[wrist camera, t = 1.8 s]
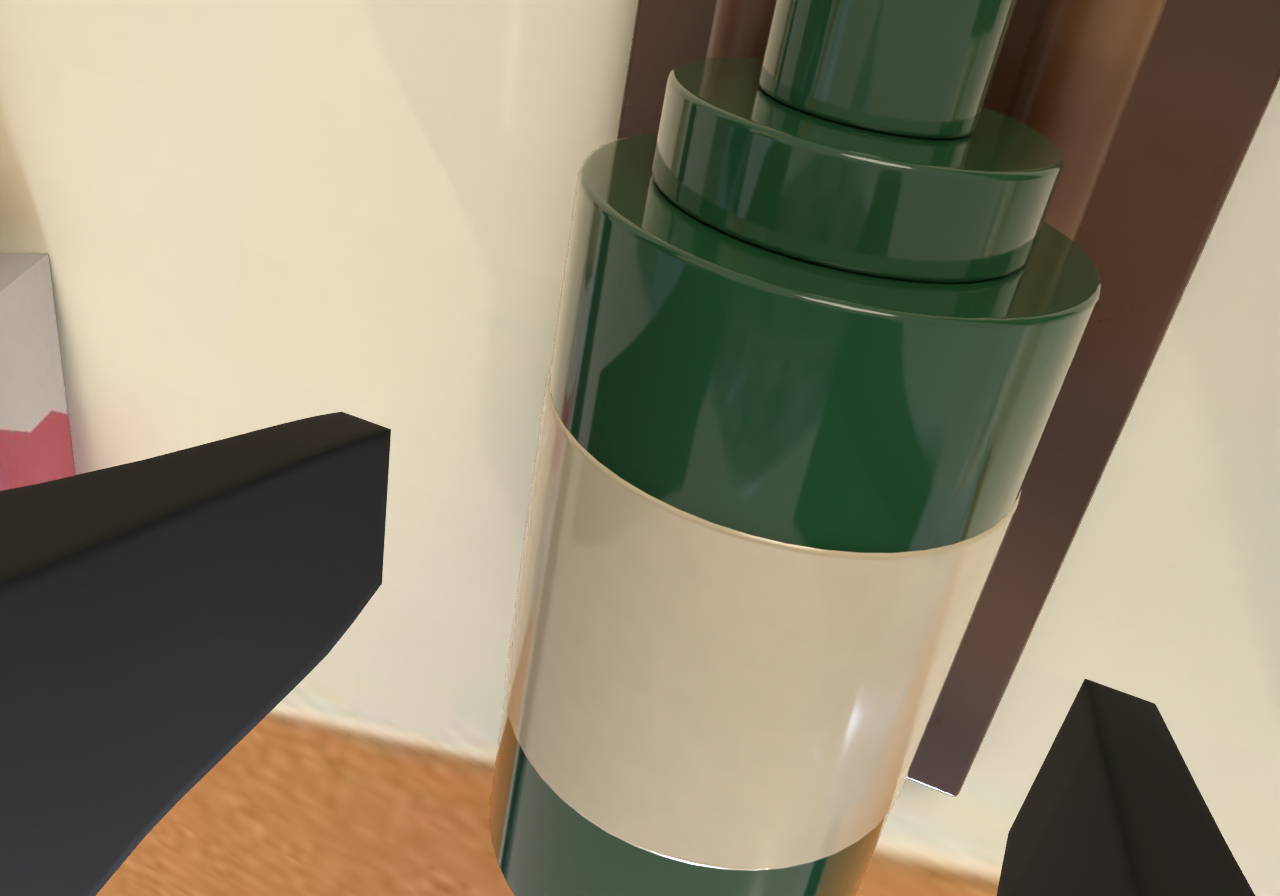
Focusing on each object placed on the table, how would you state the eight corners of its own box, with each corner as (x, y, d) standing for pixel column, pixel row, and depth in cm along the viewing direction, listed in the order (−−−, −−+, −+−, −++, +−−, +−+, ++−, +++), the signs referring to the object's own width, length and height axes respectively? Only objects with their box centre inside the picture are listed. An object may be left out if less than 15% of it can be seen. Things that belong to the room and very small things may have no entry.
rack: (962, 769, 19) (940, 896, 17) (555, 611, 21) (483, 704, 19) (1392, -201, 12) (1466, -227, 9) (706, -313, 14) (619, -360, 11)
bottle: (887, 771, 17) (810, 1075, 13) (580, 648, 18) (412, 886, 14) (1290, -247, 10) (1430, -358, 6) (758, -330, 11) (540, -475, 7)
